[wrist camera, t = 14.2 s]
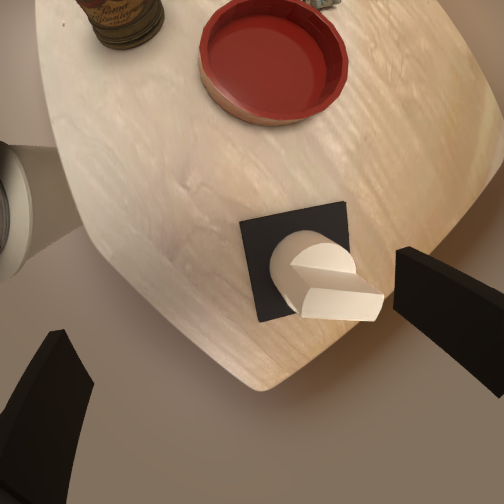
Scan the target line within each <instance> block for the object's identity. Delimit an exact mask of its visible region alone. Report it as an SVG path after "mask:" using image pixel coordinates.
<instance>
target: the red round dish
mask: <svg viewBox="0 0 504 504" xmlns="http://www.w3.org/2000/svg"><path fill="white" fill-rule="evenodd" d="M348 62H349V61H348V56H347V52H346V48H345V45H344V42H343V40H342V38H341V36H340V35H339V33H338V32H337V30H336V28H335V27H334V25H333V24H332V23H331V22H330V21H329V20H328V19H327V18H326V17H325V16H324V15H322V14H321V13H320V12H319V11H318V10H317V9H315V8H314V7H312V6H310V5H308V4H306V3H304V2H302V1H301V0H232V1H230V2H229V3H227V4H226V5H224V6H223V7H221V8H220V9H218V10H217V11H216V12H215V13H214V14H213V15H212V17H211V18H210V20H209V21H208V22H207V24H206V25H205V27H204V28H203V33H202V37H201V41H200V46H199V66H200V73H201V78H202V81H203V83H204V85H205V88H206V89H207V91H208V93H209V94H210V96H211V97H212V98H213V99H214V101H215V102H216V103H217V104H218V105H220V106H221V107H222V108H223V109H224V110H226V111H227V112H228V113H230V114H232V115H233V116H235V117H237V118H239V119H242V120H244V121H247V122H250V123H253V124H258V125H266V126H278V125H285V124H292V123H295V122H297V121H300V120H303V119H305V118H308V117H310V116H312V115H314V114H317V113H319V112H321V111H324V110H325V109H326V108H327V107H328V106H329V105H331V104H332V103H333V102H334V101H335V100H336V99H337V98H338V97H339V96H340V93H341V91H342V89H343V87H344V85H345V83H346V81H347V75H348Z"/></svg>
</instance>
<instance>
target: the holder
mask: <svg viewBox="0 0 504 504" xmlns="http://www.w3.org/2000/svg"><path fill="white" fill-rule="evenodd" d="M239 223H240V228H241V233H242V239H243V244H244V249H245V254H246V259H247V264H248V270H249V275H250V280H251V285H252V290H253V295H254V300H255V306H256V311H257V316H258V320H259V322H260V323H261V322H265V321H269V320H272V319H276V318H280V317H284V316H287V315H291V314H295V313H296V312H294V311H293V310H292V309H291V308H290V307H289V305H288V304H287V303H286V301H285V299H284V298H283V296H282V295H281V293H280V292H279V290H278V289H277V287H276V286H275V284H274V282H273V280H272V278H271V274H270V269H269V268H270V259H271V256H272V254H273V251H274V249H275V248H276V247H277V245H278V244H279V242H281V241H282V240H283V239H284V238H285V237H286V236H288V235H290V234H292V233H294V232H298V231H302V230H307V231H314V232H317V233H320V234H321V235H323V236H325V237H326V238H328V239H330V240H331V241H333V242H335V243H336V244H338V245H340V246H341V247H343V248H344V249H345V250H346V251H348V252H349V254H350V247H349V232H348V220H347V209H346V202H344V201H341V202H336V203H330V204H325V205H320V206H314V207H309V208H304V209H299V210H294V211H289V212H284V213H279V214H274V215H269V216H264V217H260V218H255V219H250V220H245V221H241V222H239Z"/></svg>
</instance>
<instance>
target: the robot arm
mask: <svg viewBox="0 0 504 504" xmlns="http://www.w3.org/2000/svg"><path fill="white" fill-rule="evenodd" d="M9 228H10V210H9V203H8V198H7V194H6V191H5V188H4V186H3V184H2V181H1V180H0V254H1V253H2V251H3V250H4V248H5V245H6V242H7V239H8V235H9ZM393 309H394V310H395V311H396V312H398V313H399V314H400V315H402V316H403V317H404V318H405V319H406V320H408V321H409V322H410V323H411V324H413V325H414V326H415V327H416V328H418V329H419V330H420V331H421V332H422V333H424V334H425V335H426V336H427V337H429V338H430V339H431V340H432V341H433V342H435V343H436V344H437V345H438V346H439V347H441V348H442V349H443V350H444V351H445V352H446V353H448V354H449V355H450V356H451V357H452V358H454V359H455V360H456V361H457V362H458V363H459V364H460V365H462V366H463V367H464V368H465V369H466V370H468V371H469V372H470V373H471V374H472V375H473V376H474V377H475V378H477V379H478V380H479V381H480V382H481V383H482V384H483V385H484V386H486V387H487V388H488V389H489V390H490V391H491V392H492V393H493V394H494V395H495V396H497V397H498V398H500V397H501V396H502V395H503V394H504V294H503V293H501V292H499V291H498V290H496V289H494V288H491V287H489V286H487V285H486V284H484V283H482V282H480V281H478V280H476V279H474V278H472V277H470V276H469V275H467V274H465V273H463V272H461V271H459V270H457V269H455V268H453V267H451V266H449V265H447V264H445V263H443V262H441V261H439V260H437V259H435V258H433V257H431V256H429V255H427V254H425V253H423V252H421V251H418V250H416V249H414V248H412V247H410V246H409V247H405V248H402V249H399V250H396V266H395V288H394V303H393ZM93 386H94V382H93V381H92V379H91V377H90V376H89V374H88V372H87V371H86V369H85V367H84V366H83V364H82V362H81V360H80V358H79V357H78V355H77V353H76V351H75V349H74V348H73V345H72V344H71V342H70V340H69V338H68V336H67V334H66V332H65V330H64V329H62V330H56V331H50V332H49V333H48V335H47V336H46V338H45V339H44V341H43V342H42V344H41V346H40V347H39V349H38V350H37V352H36V354H35V355H34V357H33V359H32V360H31V362H30V363H29V365H28V367H27V369H26V370H25V372H24V374H23V375H22V377H21V379H20V381H19V382H18V384H17V386H16V388H15V390H14V392H13V393H12V395H11V397H10V399H9V401H8V403H7V405H6V407H5V409H4V410H3V412H2V413H1V414H0V504H66V500H67V494H68V488H69V482H70V477H71V471H72V467H73V461H74V457H75V453H76V448H77V444H78V440H79V436H80V432H81V428H82V424H83V421H84V417H85V413H86V410H87V406H88V403H89V399H90V396H91V393H92V389H93Z"/></svg>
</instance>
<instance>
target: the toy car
mask: <svg viewBox="0 0 504 504" xmlns="http://www.w3.org/2000/svg"><path fill="white" fill-rule="evenodd" d="M304 1H305V3H306V4H308V5H310V6H314V8H315V9H318V8H322V7H326V6H331V5H335V4H339V3H340V2H341V0H304Z"/></svg>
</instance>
